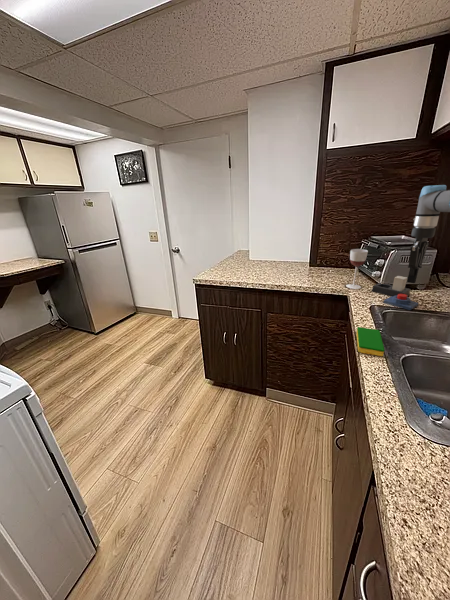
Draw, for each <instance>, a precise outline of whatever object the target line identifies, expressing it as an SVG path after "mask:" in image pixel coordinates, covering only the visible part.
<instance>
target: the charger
mask: <svg viewBox="0 0 450 600" xmlns="http://www.w3.org/2000/svg"><path fill="white" fill-rule="evenodd" d="M407 279H408V276H401V275H396V276H394V279H393V283H392V285H393V287H392V289H393V290H397V291H401V292H402V291H403V290H404V289H405V288H406V285H407Z"/></svg>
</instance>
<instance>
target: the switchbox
mask: <svg viewBox="0 0 450 600" xmlns="http://www.w3.org/2000/svg"><path fill="white" fill-rule="evenodd" d="M397 296H398V295H397ZM397 296H389V297H387V298H386V299H384V300H383V302H382V303H383V304H386V305H390V306H394V307H397V308H401V309H405V310H408V311H412V310H413V309H415V308H416V307H417V306H419V302H417V301H412V300H411V298H410V297H408V296H407V299H406V300H401V299H398V298H397Z"/></svg>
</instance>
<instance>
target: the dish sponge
mask: <svg viewBox="0 0 450 600" xmlns="http://www.w3.org/2000/svg"><path fill="white" fill-rule="evenodd" d="M356 339H357V340H356V343H357V352H358V353H361V354H367V355H373V356H378V357H384V354H385V347H384V343H383V338H382V334H381V331H380V329H376V328H370V327H369V328H368V327H361V326H357V327H356Z"/></svg>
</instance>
